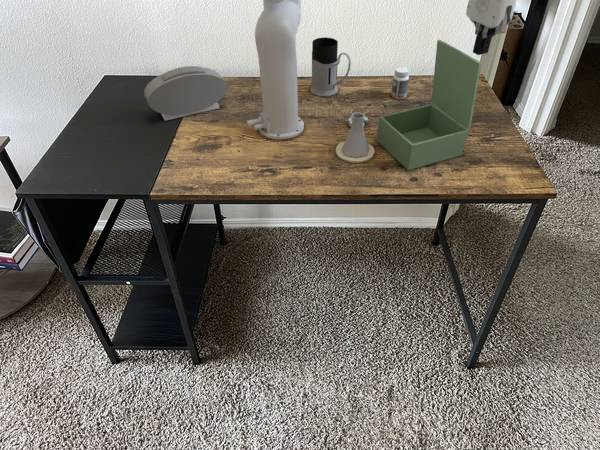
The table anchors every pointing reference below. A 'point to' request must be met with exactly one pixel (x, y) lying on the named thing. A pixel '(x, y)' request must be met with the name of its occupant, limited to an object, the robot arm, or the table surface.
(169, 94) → the alarm clock
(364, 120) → the game controller
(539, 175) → the table surface
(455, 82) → the box lid
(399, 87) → the pill bottle
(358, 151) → the flask
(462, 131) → the box
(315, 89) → the glass holder
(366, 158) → the coaster
